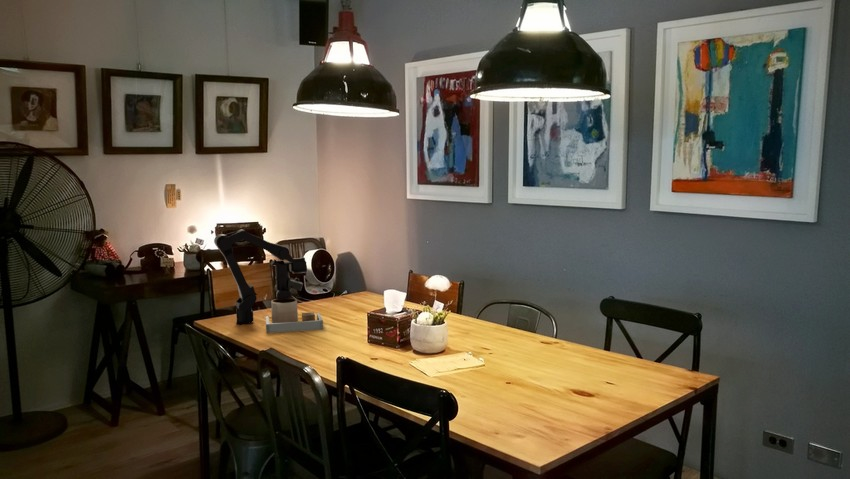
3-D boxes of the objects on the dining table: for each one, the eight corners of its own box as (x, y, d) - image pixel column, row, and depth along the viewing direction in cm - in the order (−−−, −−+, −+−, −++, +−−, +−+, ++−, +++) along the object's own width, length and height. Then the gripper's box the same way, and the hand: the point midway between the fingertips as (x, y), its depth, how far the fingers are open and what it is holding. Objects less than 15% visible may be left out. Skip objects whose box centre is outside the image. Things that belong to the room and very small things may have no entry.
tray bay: (266, 333, 269) (266, 324, 269) (265, 324, 283) (265, 316, 283) (323, 329, 275) (322, 320, 274) (319, 321, 288) (319, 313, 288)
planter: (266, 324, 283) (266, 302, 281) (279, 318, 293) (279, 297, 292) (290, 326, 279) (289, 303, 278) (302, 320, 290) (301, 298, 289)
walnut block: (302, 327, 278) (302, 315, 278) (302, 324, 283) (301, 312, 283) (315, 326, 280) (314, 314, 279) (314, 323, 284) (313, 312, 284)
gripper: (303, 277, 285) (304, 313, 287) (299, 270, 303) (300, 304, 305) (276, 278, 282) (277, 315, 284) (274, 271, 300) (275, 305, 302)
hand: (283, 309), depth 294 cm, fingers closed
